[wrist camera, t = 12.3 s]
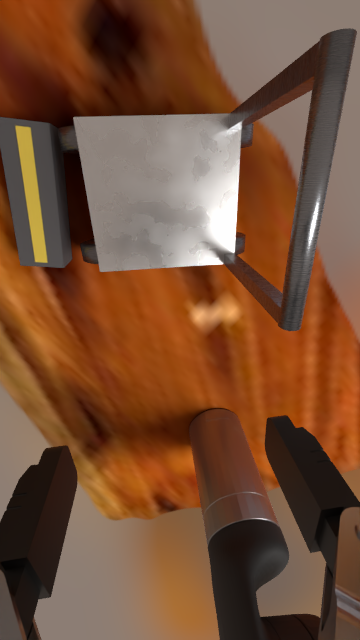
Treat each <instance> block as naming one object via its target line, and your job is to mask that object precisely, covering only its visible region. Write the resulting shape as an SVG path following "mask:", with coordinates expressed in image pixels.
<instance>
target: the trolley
mask: <svg viewBox="0 0 360 640" xmlns="http://www.w3.org/2000/svg"><path fill="white" fill-rule="evenodd" d="M356 35H357V31H356V30H354V29H340V30H336V31H333V32H330V33H327V34H326V35H324V36H322V37H321V39H320V41H319V42H318V43H317V44H315V45H314V46H313V47H312V48H310V49H309V50H308V51H307V52H305V53H304V54H303V55H302V56H300V57H299V58H298V59H297V60H295V61H294V62H293V63H292V64H290V65H289V66H288V67H287V68H285V69H284V70H283V71H282V72H281V73H280V74H278V75H277V76H276V77H275V78H273V79H272V80H271V81H269V82H268V83H267V84H266V85H264V86H263V87H262V88H261V89H260V90H258V91H257V92H256V93H255V94H253V95H252V96H251V97H250V98H248V99H247V100H246V101H245V102H243V103H242V104H241V105H240V106H239V107H237V108H236V109H235V110H234V111H232V112H231V113H230V114H187V115H141V116H96V117H73V119H74V126H66V127H62V128H59V129H58V130H57V131H58V136H59V141H60V146H61V151H62V152H64V153H73V154H80V159H81V165H82V171H83V176H84V182H85V188H86V194H87V199H88V205H89V211H90V216H91V222H92V228H93V234H94V239H91V240H87V241H84V242H82V243H81V244H80V246H81V251H82V256H83V260H84V261H85V262H87V263H92V264H99V268H100V272H106V271H122V270H137V269H152V268H168V267H183V266H199V265H214V264H225V266H226V267H227V268H228V269H229V270H230V271H231V272H232V273H233V274H234V275H235V277H236V278H237V279H238V280H239V281H240V282H241V283H242V284H243V285H244V287H245V288H246V289H247V290H248V291H249V292H250V293H251V294H252V295H253V296H254V298H255V299H256V300H257V301H258V302H259V303H260V304H261V305H262V306H263V307H264V309H265V310H266V311H267V312H268V313H269V314H270V315H271V316H272V317H273V318H274V320H275V321H276V322H277V323H278V326H279V327H280V328H282V329H284V330H288V331H297V330H299V329H300V328H301V323H302V318H303V313H304V307H305V302H306V297H307V292H308V287H309V281H310V276H311V271H312V266H313V260H314V255H315V250H316V245H317V239H318V234H319V228H320V224H321V218H322V213H323V208H324V203H325V197H326V192H327V187H328V182H329V176H330V171H331V166H332V161H333V155H334V150H335V145H336V140H337V134H338V129H339V124H340V119H341V113H342V108H343V103H344V98H345V92H346V87H347V82H348V77H349V71H350V66H351V61H352V55H353V50H354V45H355V40H356ZM311 90H312V96H311V103H310V110H309V117H308V123H307V130H306V137H305V144H304V151H303V158H302V165H301V172H300V178H299V185H298V192H297V199H296V205H295V212H294V219H293V226H292V233H291V240H290V246H289V253H288V260H287V267H286V274H285V281H284V287H283V294H282V293H281V292H280V291H279V290H278V289H276V288H275V287H274V286H273V285H272V284H270V283H269V282H268V281H267V280H266V279H265V278H263V277H262V276H261V275H260V274H259V273H257V272H256V271H255V270H254V269H253V268H252V267H250V266H249V265H248V264H247V263H246V262H244V261H243V260H242V259H241V258H240V257H238V256H237V255H238V254H241V253H243V252H244V249H245V234H243V233H239V232H236V217H237V199H238V181H239V163H240V148H244V147H249V146H252V138H253V124H252V123H253V122H254V121H256V120H258V119H260V118H262V117H264V116H265V115H267V114H269V113H271V112H273V111H274V110H276V109H278V108H280V107H282V106H284V105H285V104H287V103H289V102H291V101H293V100H295V99H296V98H298V97H300V96H302V95H304V94H305V93H307V92H309V91H311Z"/></svg>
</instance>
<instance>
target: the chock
mask: <svg viewBox="0 0 360 640" xmlns="http://www.w3.org/2000/svg"><path fill="white" fill-rule="evenodd" d="M58 129H59V128H57V127H55V126H53V125H52V124H50V123H45V122H37V121H29V120H21V119H12V118H4V117H0V149H1V155H2V160H3V166H4V172H5V178H6V184H7V190H8V195H9V201H10V207H11V213H12V219H13V224H14V230H15V236H16V242H17V248H18V253H19V259H20V265H24V266H41V267H58V268H64V267H65V266H66V265H67V264H68V263H69V262H70V261H71V260H72V251H71V240H70V228H69V216H68V204H67V192H66V181H65V169H64V157H63V152H62V151H61V146H60V141H59V136H58V131H57V130H58Z"/></svg>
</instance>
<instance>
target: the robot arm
mask: <svg viewBox="0 0 360 640" xmlns="http://www.w3.org/2000/svg"><path fill="white" fill-rule="evenodd" d="M189 435H190V441H191V447H192V454H193V460H194V466H195V472H196V478H197V484H198V490H199V497H200V503H201V509H202V515H203V520H204V526H205V532H206V538H207V544H208V551H209V558H210V565H211V575H212V585H213V593H214V600H215V607H216V613H217V620H218V628H219V636H220V640H360V502H359V501H358V499H357V498H356V496H355V495H354V493H353V492H352V491H351V489H350V488H349V486H348V485H347V483H346V482H345V480H344V479H343V477H342V476H341V474H340V473H339V471H338V470H337V469H336V467H335V466H334V464H333V463H332V462H331V461H330V458H329V457H328V455H327V454H326V453H325V452H324V451H323V448H322V447H321V445H320V444H319V442H318V441H317V439H316V438H315V437H314V436H313V435H312V434H311V433H309V432H308V431H307V430H306V429H304V428H303V427H300V428H295V426H294V425H293V423H292V422H291V420H290V419H289V417H288V416H286V415H284V416H277V417H270V418H268V419H267V424H266V435H265V450H266V455H267V458H268V460H269V463H270V465H271V467H272V469H273V471H274V474H275V476H276V478H277V480H278V482H279V485H280V487H281V489H282V491H283V493H284V496H285V498H286V500H287V502H288V504H289V507H290V509H291V511H292V513H293V515H294V518H295V520H296V522H297V524H298V526H299V529H300V531H301V533H302V535H303V538H304V540H305V542H306V544H307V546H308V549H309V551H310V553H312V552H317V551H321V552H322V554H323V556H324V558H325V561H326V567H325V578H324V588H323V597H322V608H321V617H320V618H319V617H318V616H315V615H311V614H292V615H281V616H268V617H260V615H259V610H258V605H257V598H256V591H257V590H258V589H259V588H260V587H261V586H262V585H264V584H265V583H267V582H268V581H270V580H272V579H273V578H275V577H276V576H277V575H279V574H280V573H281V572H282V571H283V569H284V568H285V566H286V565H287V563H288V560H289V552H288V547H287V544H286V542H285V539H284V536H283V534H282V531H281V529H280V526H279V524H278V521H277V518H276V516H275V513H274V511H273V508H272V505H271V503H270V500H269V498H268V495H267V492H266V490H265V487H264V484H263V482H262V479H261V476H260V474H259V471H258V468H257V466H256V463H255V461H254V458H253V455H252V453H251V450H250V447H249V445H248V442H247V439H246V436H245V434H244V431H243V429H242V426H241V423H240V421H239V419H238V417H237V416H236V415H235V414H234V413H233V412H231V411H229V410H225V409H213V410H208V411H205V412H203V413H201V414H199V415H198V416H197V417H196V418H195V419H194V420H193V421H192V422H191V424H190V427H189ZM76 488H77V470H76V467H75V465H74V462H73V459H72V456H71V453H70V450H69V448H68V446H66V445H65V446H58V447H51V448H46V449H45V450H44V452H43V454H42V456H41V459H40V462H39V464H38V465H31V466H30V467H29V468H28V469H27V471H26V472H25V473H24V474H23V475H22V477H21V478H20V479H19V481H18V483H17V485H16V488H15V490H14V493H13V495H12V498H11V499H10V501H9V504H8V506H7V510H6V511H5V513H4V515H3V517H2V519H1V522H0V640H41V637H40V634H39V631H38V628H37V625H36V622H35V619H34V614H35V610H36V606H37V602H38V599H42V598H49V597H51V594H52V589H53V585H54V581H55V577H56V572H57V568H58V564H59V559H60V556H61V552H62V547H63V543H64V539H65V535H66V530H67V526H68V522H69V518H70V513H71V509H72V505H73V501H74V497H75V492H76Z"/></svg>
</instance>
